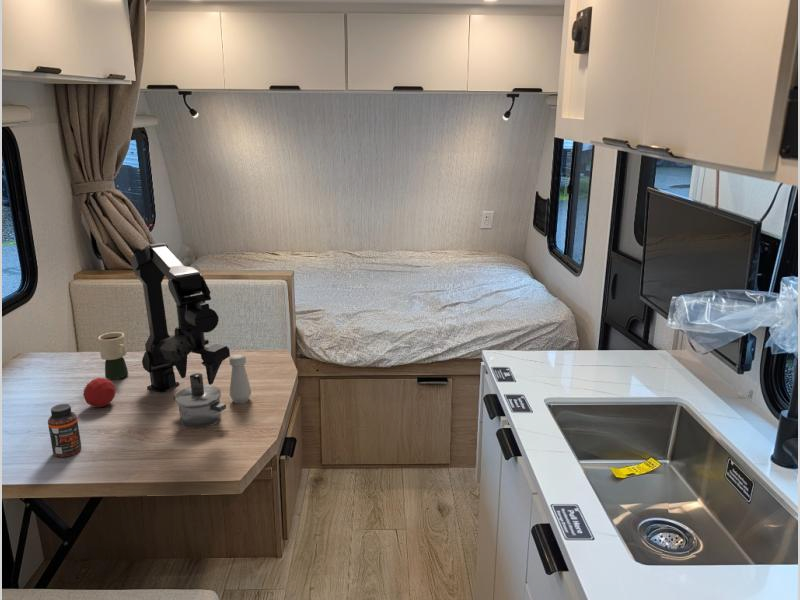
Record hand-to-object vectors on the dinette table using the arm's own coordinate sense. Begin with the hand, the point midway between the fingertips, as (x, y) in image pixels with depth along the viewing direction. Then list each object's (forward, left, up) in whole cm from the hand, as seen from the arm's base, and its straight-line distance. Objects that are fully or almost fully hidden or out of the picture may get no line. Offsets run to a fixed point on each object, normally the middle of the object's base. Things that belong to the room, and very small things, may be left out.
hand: (197, 380), depth 156 cm
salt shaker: (+2, +13, -11) cm, 17 cm away
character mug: (-42, +9, -11) cm, 44 cm away
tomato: (-30, -6, -11) cm, 33 cm away
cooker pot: (0, 0, -11) cm, 11 cm away
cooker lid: (0, 0, -5) cm, 5 cm away
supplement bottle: (-16, -26, -11) cm, 32 cm away
